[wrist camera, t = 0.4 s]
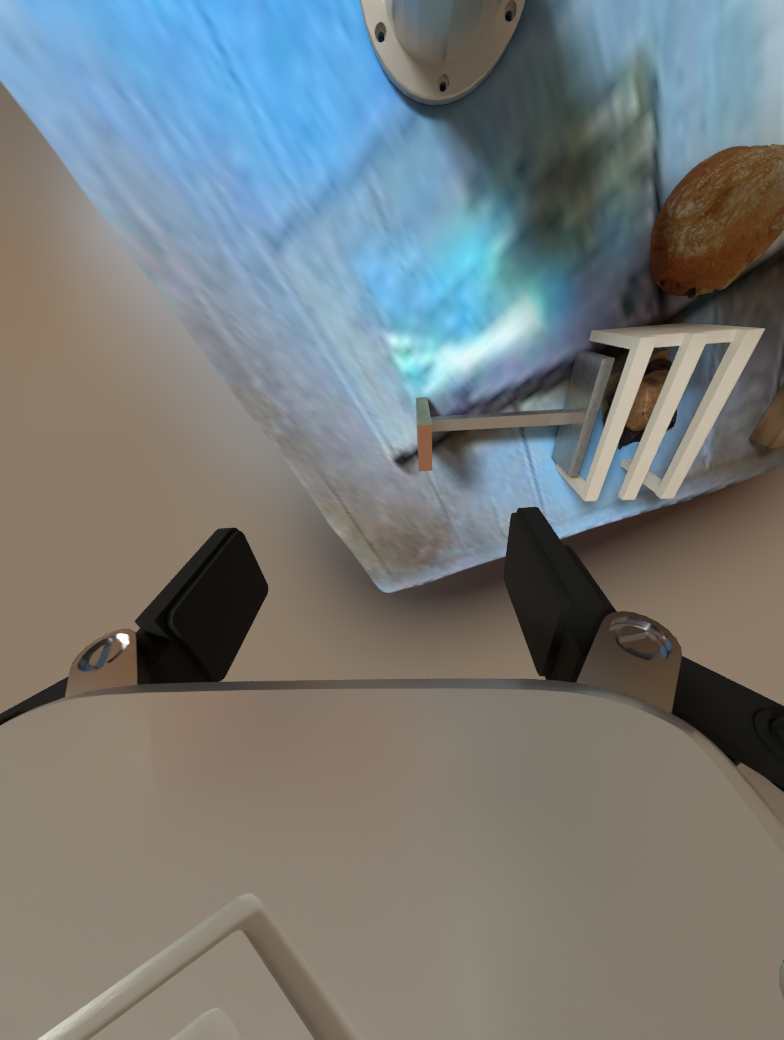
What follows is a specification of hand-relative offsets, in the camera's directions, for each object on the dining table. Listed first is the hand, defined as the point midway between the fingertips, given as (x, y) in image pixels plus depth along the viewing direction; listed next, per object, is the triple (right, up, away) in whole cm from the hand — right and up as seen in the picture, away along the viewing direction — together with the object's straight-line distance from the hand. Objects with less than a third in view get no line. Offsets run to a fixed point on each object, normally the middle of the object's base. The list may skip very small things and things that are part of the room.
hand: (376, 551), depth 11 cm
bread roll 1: (+32, +16, +28) cm, 45 cm away
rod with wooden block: (+14, +15, +29) cm, 35 cm away
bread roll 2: (+30, +29, +19) cm, 46 cm away
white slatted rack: (+29, +16, +28) cm, 43 cm away
